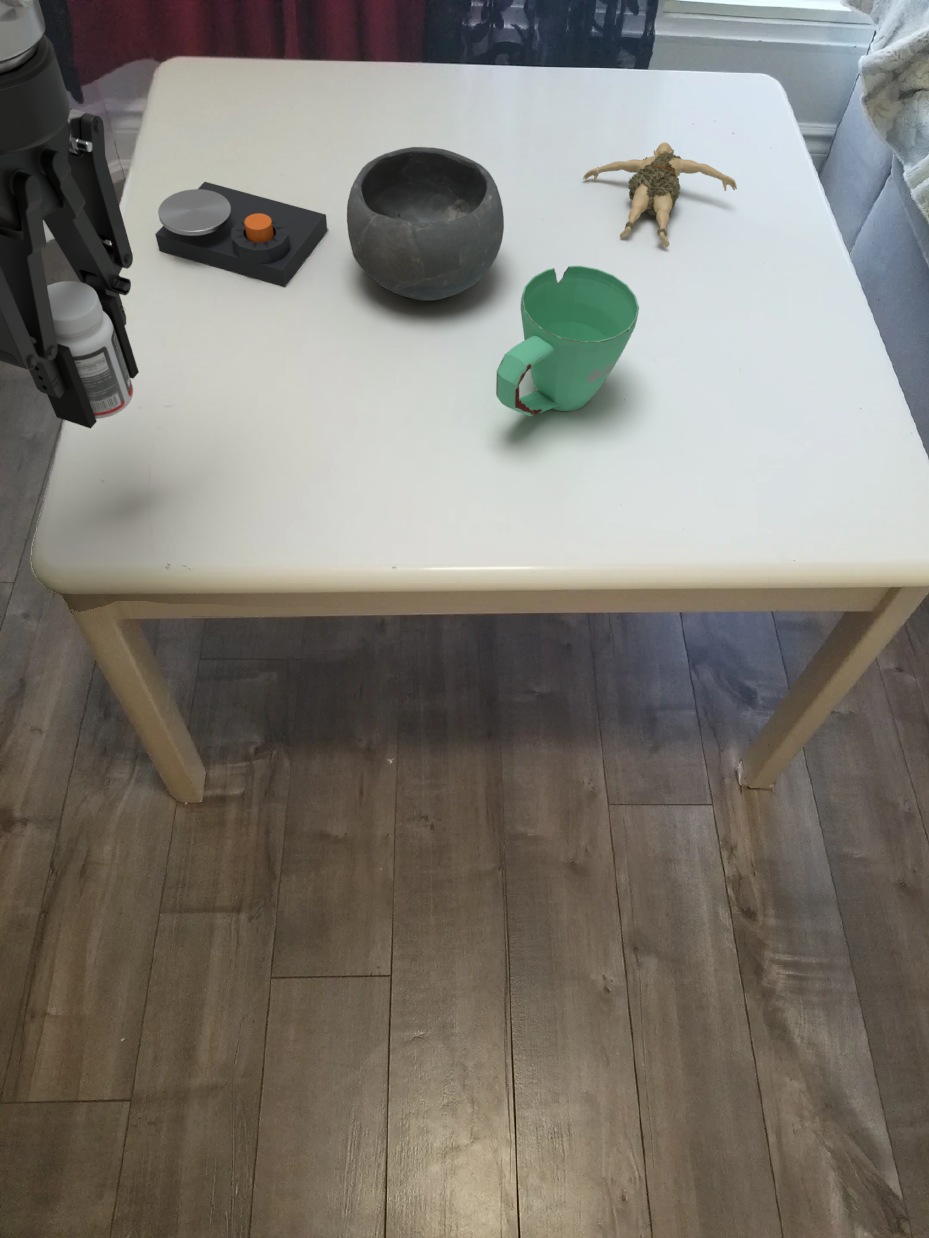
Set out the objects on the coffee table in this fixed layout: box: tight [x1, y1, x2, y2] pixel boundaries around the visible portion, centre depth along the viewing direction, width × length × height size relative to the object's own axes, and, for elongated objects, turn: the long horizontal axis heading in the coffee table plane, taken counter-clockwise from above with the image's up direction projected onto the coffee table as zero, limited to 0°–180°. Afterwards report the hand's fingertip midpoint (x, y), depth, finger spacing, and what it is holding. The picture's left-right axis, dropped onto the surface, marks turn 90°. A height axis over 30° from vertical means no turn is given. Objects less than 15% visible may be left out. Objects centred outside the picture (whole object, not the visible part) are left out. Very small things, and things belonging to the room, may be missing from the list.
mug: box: [495, 265, 640, 417], centre depth 79 cm, size 15×10×10 cm
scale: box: [154, 181, 328, 287], centre depth 92 cm, size 14×10×4 cm
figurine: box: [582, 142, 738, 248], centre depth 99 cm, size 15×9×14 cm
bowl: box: [346, 146, 505, 301], centre depth 88 cm, size 15×15×10 cm
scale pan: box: [157, 188, 232, 236], centre depth 90 cm, size 7×7×1 cm
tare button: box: [244, 214, 274, 242], centre depth 89 cm, size 3×3×2 cm
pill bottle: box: [47, 280, 134, 420], centre depth 62 cm, size 5×5×8 cm
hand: (98, 394), depth 65 cm, fingers closed on pill bottle, 5 cm apart
